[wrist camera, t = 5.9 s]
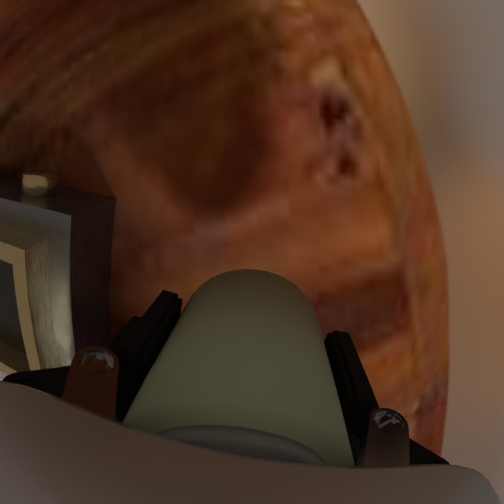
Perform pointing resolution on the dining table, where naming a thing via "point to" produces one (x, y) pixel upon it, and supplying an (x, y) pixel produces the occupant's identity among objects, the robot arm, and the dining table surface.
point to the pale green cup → (246, 375)
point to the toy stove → (52, 271)
